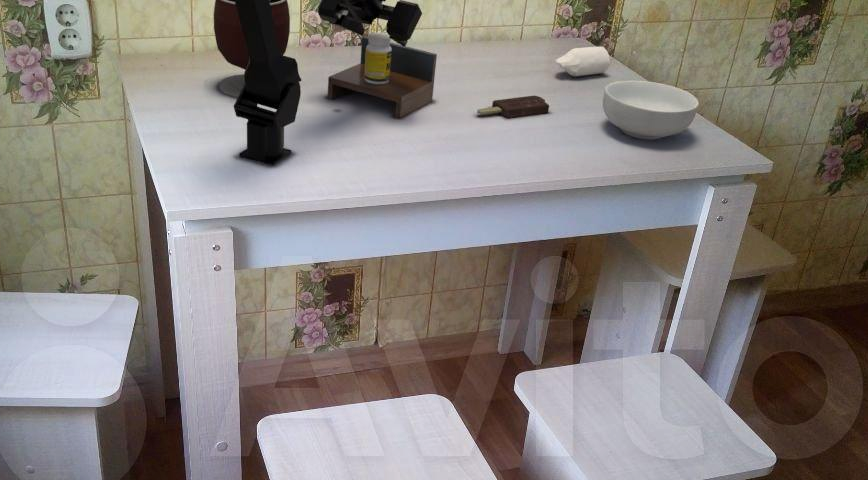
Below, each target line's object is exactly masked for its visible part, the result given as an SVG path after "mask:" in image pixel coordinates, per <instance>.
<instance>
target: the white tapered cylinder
mask: <svg viewBox="0 0 868 480" xmlns="http://www.w3.org/2000/svg"><path fill="white" fill-rule="evenodd" d="M555 62H556V64H557V65H558V66H559V68H561V69H563V70H564V71H565V72H566V73H567V74H569V76H572V77H583V76H591V75H599V74H604V73H605V72H606V71H608V70H609V68H610V65H611V57H610V54H609V52H608V50H607V49H606V48H605V47H604V46H587V47H575V48H572V49H570V50H569V51H567V52H566V53H564V54H563V55H562V56H560V57H558V58H556V59H555Z"/></svg>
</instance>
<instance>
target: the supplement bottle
mask: <svg viewBox="0 0 868 480" xmlns="http://www.w3.org/2000/svg"><path fill="white" fill-rule="evenodd" d="M389 36H390V35H388V33H387V32H378V31H375V32H370V33H369V34H368V37H369V40H368V42H369V44H368V45H367V47H366V58H365V74H364V80H365V81H366V82H368V83H370V84H386V83H388V82H389V79H390V65H391V52H392V49H391V47H390V43H392V41H391V40H392V39H390V38H389Z"/></svg>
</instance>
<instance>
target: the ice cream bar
mask: <svg viewBox="0 0 868 480" xmlns="http://www.w3.org/2000/svg"><path fill="white" fill-rule="evenodd" d="M549 109H550V104H548V103H547V102H546V100H545V98H543V97H541V96H539V95H526V96H518V97H511V98H504V99H502V98H501V99H494V100H493V101H492V103H491V107H483V108H478V109H477V110H476V111H477V112H476V113H477V114H479V115H491V114H498V113H499V114H500V115H502V116H504V117H505V118H506V119H511V118H521V117H526V116H527V117H528V116H534V115H541V114H547V113H549Z"/></svg>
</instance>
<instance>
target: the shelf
mask: <svg viewBox="0 0 868 480" xmlns="http://www.w3.org/2000/svg"><path fill="white" fill-rule="evenodd" d="M368 40H369V36H366V35H363V36H361V46H360V63H357V64H355V65H353V66H350V67H348V68H346V69H343V70H341V71H338V72H336V73H333V74H332V75H330V76H328V80H327V99H332V100H333V99H335V98H337V97H339V96H341V95H343V94H346V93H348V92H351V91H355V92H358V93H362V94H367V95H370V96H373V97H377V98H379V99H384V100H387V101H392V102H395V115H394V117H395V118H397V119H401V118H403V117H405V116H407V115H409V114H411V113H412V112H414V111H416V110H419V109H420V108H422V107H424V106H426V105H428V104H430V103H432V102H433V98H434V97H433V96H434V88H435V87H434V85H435V76H436V67H437V66H436V65H437V57H438V55H437V53H435V52H430V51H427V50H423V49H418V48H414V47H410V46H407V45H406V46H402V45H400V44H399V43H395V42H390V47H391V49H392V52H391V65H390V79H389V82H388V83H386V84H370V83H368V82H366V81H365V80H364V74H365V58H366V47H367V45H368V44H369V42H368Z"/></svg>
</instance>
